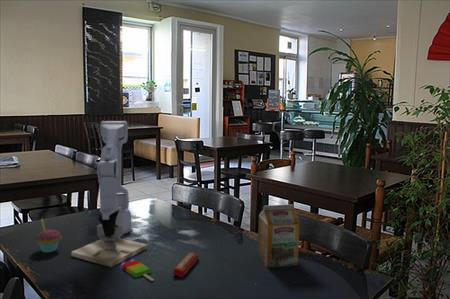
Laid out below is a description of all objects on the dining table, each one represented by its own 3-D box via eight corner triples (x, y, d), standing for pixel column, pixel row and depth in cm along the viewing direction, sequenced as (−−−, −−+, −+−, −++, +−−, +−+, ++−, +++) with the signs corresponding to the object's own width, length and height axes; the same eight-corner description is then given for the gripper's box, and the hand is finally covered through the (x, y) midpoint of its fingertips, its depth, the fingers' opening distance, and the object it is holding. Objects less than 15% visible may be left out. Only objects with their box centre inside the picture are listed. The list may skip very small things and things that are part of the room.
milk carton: (266, 267, 134) (268, 210, 131) (257, 254, 144) (259, 201, 141) (297, 265, 136) (300, 208, 133) (286, 252, 146) (288, 200, 143)
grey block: (94, 240, 142) (94, 226, 142) (105, 234, 148) (104, 220, 147) (115, 243, 140) (114, 228, 139) (124, 237, 145) (124, 223, 145)
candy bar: (182, 280, 125) (182, 270, 124) (171, 278, 126) (171, 269, 125) (200, 259, 140) (200, 250, 140) (189, 258, 141) (190, 249, 141)
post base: (109, 239, 157) (109, 227, 156) (147, 248, 148) (147, 236, 148) (71, 255, 141) (70, 243, 140) (111, 267, 133) (110, 253, 132)
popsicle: (136, 264, 136) (136, 259, 136) (161, 280, 125) (161, 274, 124) (120, 269, 132) (120, 263, 132) (145, 286, 121) (144, 279, 121)
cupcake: (34, 255, 141) (32, 221, 139) (38, 246, 149) (36, 214, 147) (61, 253, 143) (59, 219, 141) (63, 244, 151) (62, 212, 150)
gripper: (117, 200, 135) (118, 240, 137) (123, 189, 149) (124, 226, 151) (95, 201, 134) (96, 241, 136) (103, 190, 148) (104, 226, 150)
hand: (109, 233), depth 144 cm, fingers closed on grey block, 5 cm apart
